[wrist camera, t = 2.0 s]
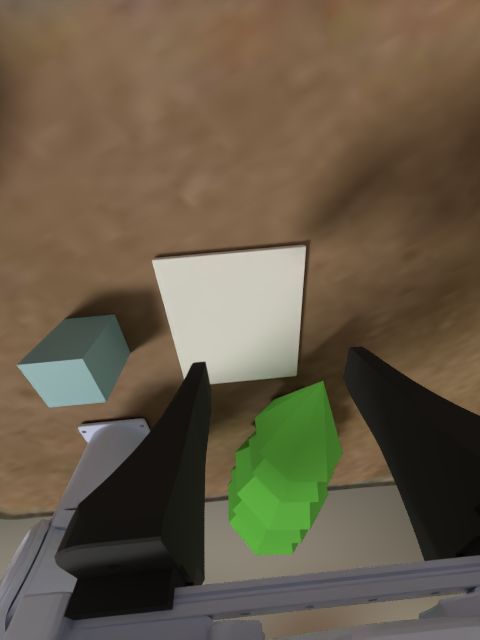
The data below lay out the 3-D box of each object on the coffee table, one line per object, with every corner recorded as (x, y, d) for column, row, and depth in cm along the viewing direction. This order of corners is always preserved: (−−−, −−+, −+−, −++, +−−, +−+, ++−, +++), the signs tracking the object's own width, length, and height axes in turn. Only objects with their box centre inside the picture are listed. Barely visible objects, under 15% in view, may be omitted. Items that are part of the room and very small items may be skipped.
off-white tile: (295, 371, 27) (296, 375, 26) (187, 382, 27) (186, 386, 26) (303, 244, 19) (306, 246, 19) (153, 258, 19) (151, 260, 19)
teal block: (130, 352, 24) (106, 401, 19) (85, 357, 24) (49, 407, 19) (114, 314, 22) (82, 358, 17) (64, 318, 22) (16, 365, 17)
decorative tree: (241, 595, 29) (317, 484, 13) (209, 494, 38) (230, 346, 21) (313, 544, 34) (437, 416, 18) (271, 465, 42) (327, 326, 26)
